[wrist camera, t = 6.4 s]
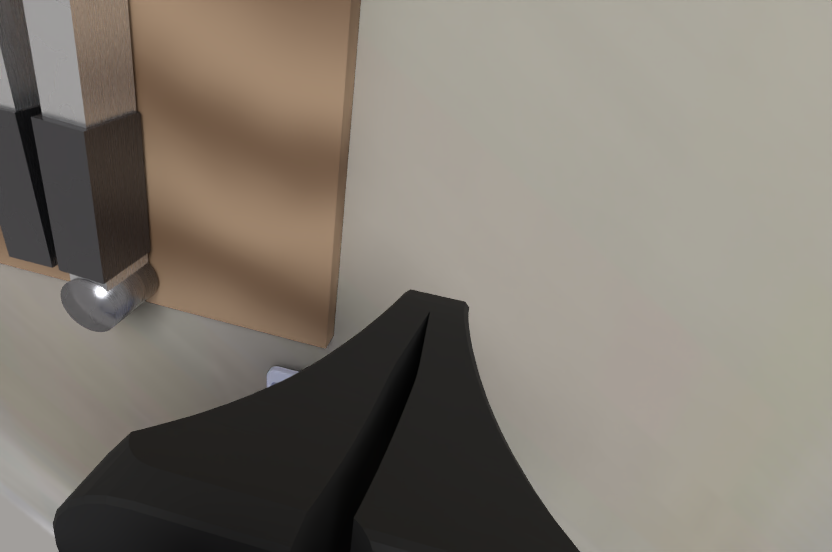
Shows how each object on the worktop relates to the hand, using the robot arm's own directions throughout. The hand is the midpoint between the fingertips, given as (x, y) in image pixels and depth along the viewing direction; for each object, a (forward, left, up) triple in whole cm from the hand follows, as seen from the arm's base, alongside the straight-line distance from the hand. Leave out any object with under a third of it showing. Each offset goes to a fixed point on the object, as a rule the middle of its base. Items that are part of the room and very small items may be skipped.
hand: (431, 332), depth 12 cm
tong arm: (+1, +14, -8) cm, 16 cm away
